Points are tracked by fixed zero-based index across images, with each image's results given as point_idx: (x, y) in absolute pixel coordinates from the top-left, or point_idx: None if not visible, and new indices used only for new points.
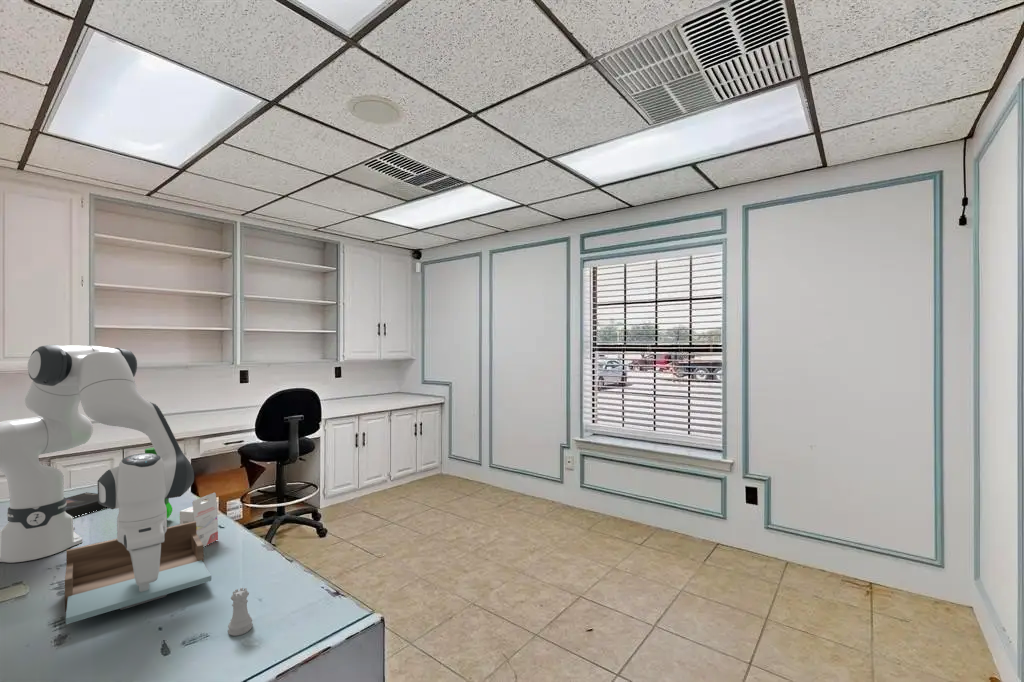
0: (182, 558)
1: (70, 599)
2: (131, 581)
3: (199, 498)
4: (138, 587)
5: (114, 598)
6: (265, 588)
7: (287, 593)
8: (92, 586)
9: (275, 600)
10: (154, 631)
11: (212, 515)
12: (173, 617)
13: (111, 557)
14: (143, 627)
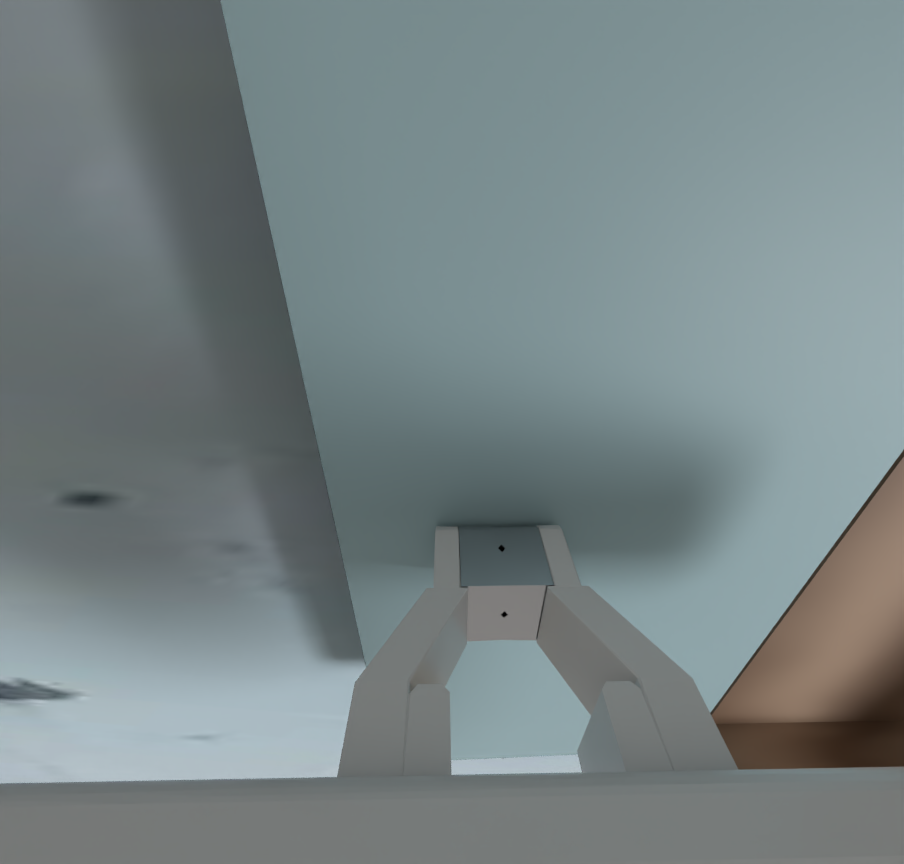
0: (872, 688)
1: None
2: (820, 476)
3: None
4: (522, 533)
5: (482, 331)
6: (289, 752)
7: (205, 774)
8: None
9: (167, 755)
10: (59, 474)
11: None
12: (203, 549)
13: None
14: (144, 433)
